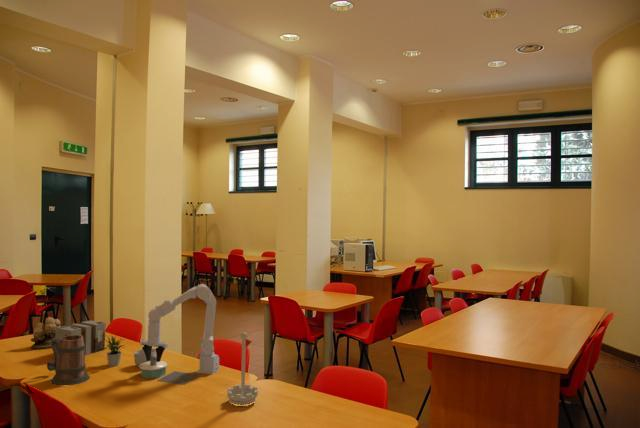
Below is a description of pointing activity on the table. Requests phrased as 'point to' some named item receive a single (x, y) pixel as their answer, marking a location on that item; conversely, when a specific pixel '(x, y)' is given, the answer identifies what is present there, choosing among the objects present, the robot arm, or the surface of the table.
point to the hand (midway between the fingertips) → (153, 361)
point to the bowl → (153, 373)
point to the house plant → (113, 351)
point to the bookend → (86, 334)
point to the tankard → (68, 361)
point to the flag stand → (243, 382)
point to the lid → (153, 364)
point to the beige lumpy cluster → (45, 334)
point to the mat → (178, 378)
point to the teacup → (142, 356)
